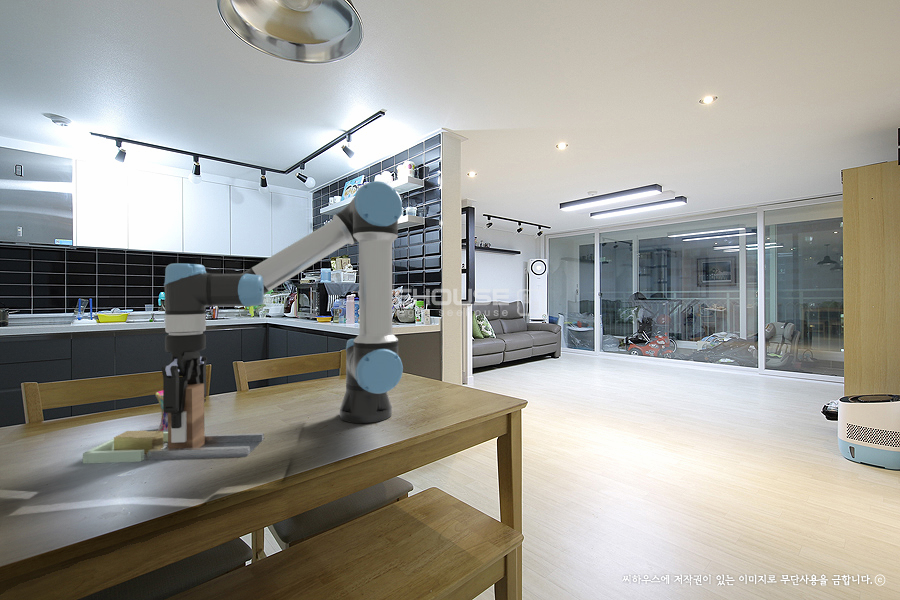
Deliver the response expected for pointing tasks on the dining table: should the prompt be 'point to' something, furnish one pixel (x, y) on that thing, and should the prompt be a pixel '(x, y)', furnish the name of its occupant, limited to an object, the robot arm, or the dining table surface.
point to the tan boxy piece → (148, 441)
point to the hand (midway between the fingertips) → (186, 436)
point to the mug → (164, 418)
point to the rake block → (192, 418)
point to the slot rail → (213, 447)
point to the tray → (114, 453)
